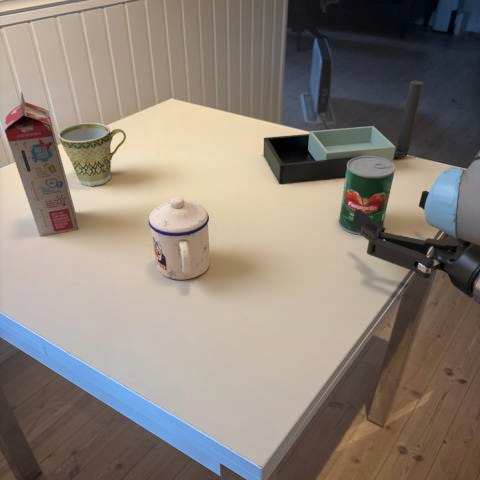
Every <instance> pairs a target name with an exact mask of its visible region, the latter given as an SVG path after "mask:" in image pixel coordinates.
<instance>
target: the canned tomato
mask: <svg viewBox="0 0 480 480" xmlns="http://www.w3.org/2000/svg"><path fill="white" fill-rule="evenodd" d="M395 171H396V165H395V164H394V162H393V163H392V162H391V161H389V160H387V159H384V158H380V157H375V156H360V157H356V158H353V159H351V160H349V162H348V163H347V170H346V177H345V178H344V185H343V190H342V198H341V203H340V204H341V205H340V211H339V218H338V225H339V227H340V228H341V229H342V230H344V231H345V232H347V233H350V234H352V235H358V236H362V235H361V232H360V231H359V230H358V229H357V228H355V227H354V226H353V225H352V224H353V218H354V212H355V210H357V209H359V210H361V211H362V212H363V213H365V214H366V215H367V216H369V217H370V218H372V219H373V220H374V221H376V222H377V223H378V224H380V225H381V226H382V227H384V221H385V218H386V213H387V208H388V203H389V199H390V194H391V191H392V185H393V180H394V176H395Z"/></svg>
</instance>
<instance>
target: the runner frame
mask: <svg viewBox="0 0 480 480" xmlns="http://www.w3.org/2000/svg"><path fill="white" fill-rule="evenodd" d="M308 143H309V133H302V134H292V135H281V136H268V137H267V136H266V137H263V157H264V159H265V161H266V162H267V165H268V166H269V168H270V170H271V172H272V174H273V175H274V177H275V179H276V181H277V182H278V184H279V185H285V184H295V183H306V182H317V181H325V180H336V178H337V179H345V177H346V170H347V163H348V162H349V160H351V159H353V158H356V157H351V158H340V159H329V160H318V161H316V160H315V159H314V158H313V156H312V155H311V153H310V152H309V151H308Z"/></svg>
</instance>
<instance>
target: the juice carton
mask: <svg viewBox="0 0 480 480" xmlns="http://www.w3.org/2000/svg"><path fill="white" fill-rule="evenodd" d="M4 133H5V136H6V139H7V142H8V146H9V148H10V151H11V155H12V157H13V160H14V162H15V166H16V169H17V172H18V175H19V178H20V181H21V184H22V187H23V189H24V194H25V196H26V199H27V202H28V205H29V208H30V211H31V213H32V216H33V220H34V222H35V223H34V224H35V225H36V229H37V232H38V235H39V237H43V236H49V235H54V234H61V233H67V232H71V231H77V230H79V226H78V219H77V213H76V209H75V204H74V201H73V198H72V194H71V190H70V188H69V182H68V179H67V175H66V172H65V168H64V164H63V161H62V156H61V153H60V149H59V146H58V141H57V137H56V134H55V131H54V126H53V123H52V120H51V115H50V112H49V110H47V109H45V108H43V107H40V106H38V105H35V104H32V103H30V102H26V101H25V97H24V94H23V91H20V104H18V105H16V106H15V107H14V108H13V109H12V110H10V111H9V112H8V113H7V114H6V115H5V122H4Z"/></svg>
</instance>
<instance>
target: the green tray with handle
mask: <svg viewBox="0 0 480 480" xmlns="http://www.w3.org/2000/svg"><path fill="white" fill-rule="evenodd" d="M423 88H424V82H423V81H422V80H411V81H410V82H409V87H408V92H407V95H406V96H407V97H406V100H405V106H404V110H403V116H402V120H401V125H400V131H399V135H398V140H397V144H396V146H395V145H394V144H393V143H392V142H391V141H390V140H389V139H388V138H387V137H385V135H384V134H383V133H381V132H380V131H379V130H378V129H377V127H376V126H374V125H369V126H359V127H344V128H333V129H323V130H311V131H309V132H308V134H309V143H308V151H309V152H310V153H311V155H312V156H313V158H314V159H315V160H316V161H318V160H329V159H340V158H351V157H360V156H375V157H380V158H384V159H387V160H389V161H391V162H392V163H393V164H394V158H395V157H402V156H408V153H409V150H410V146H411V143H412V136H413V132H414V128H415V123H416V118H417V116H418V115H417V114H418V110H419V106H420V101H421V97H422V93H423Z"/></svg>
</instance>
